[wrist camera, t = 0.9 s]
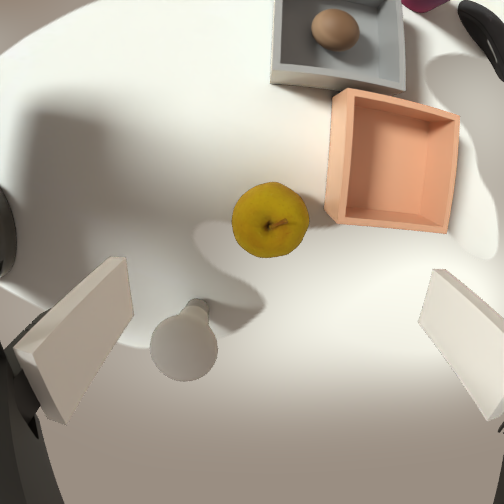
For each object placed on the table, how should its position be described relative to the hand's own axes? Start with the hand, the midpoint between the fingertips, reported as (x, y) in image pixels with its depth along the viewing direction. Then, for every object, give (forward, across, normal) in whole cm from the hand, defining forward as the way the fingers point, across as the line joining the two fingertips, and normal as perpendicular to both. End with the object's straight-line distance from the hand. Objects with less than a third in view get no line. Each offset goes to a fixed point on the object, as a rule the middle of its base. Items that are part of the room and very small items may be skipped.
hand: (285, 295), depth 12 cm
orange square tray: (+18, +11, +5) cm, 22 cm away
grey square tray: (+18, +5, +18) cm, 26 cm away
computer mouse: (+19, +31, +24) cm, 44 cm away
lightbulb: (+19, -7, -11) cm, 23 cm away
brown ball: (+18, +5, +18) cm, 26 cm away
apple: (+19, 0, 0) cm, 19 cm away
